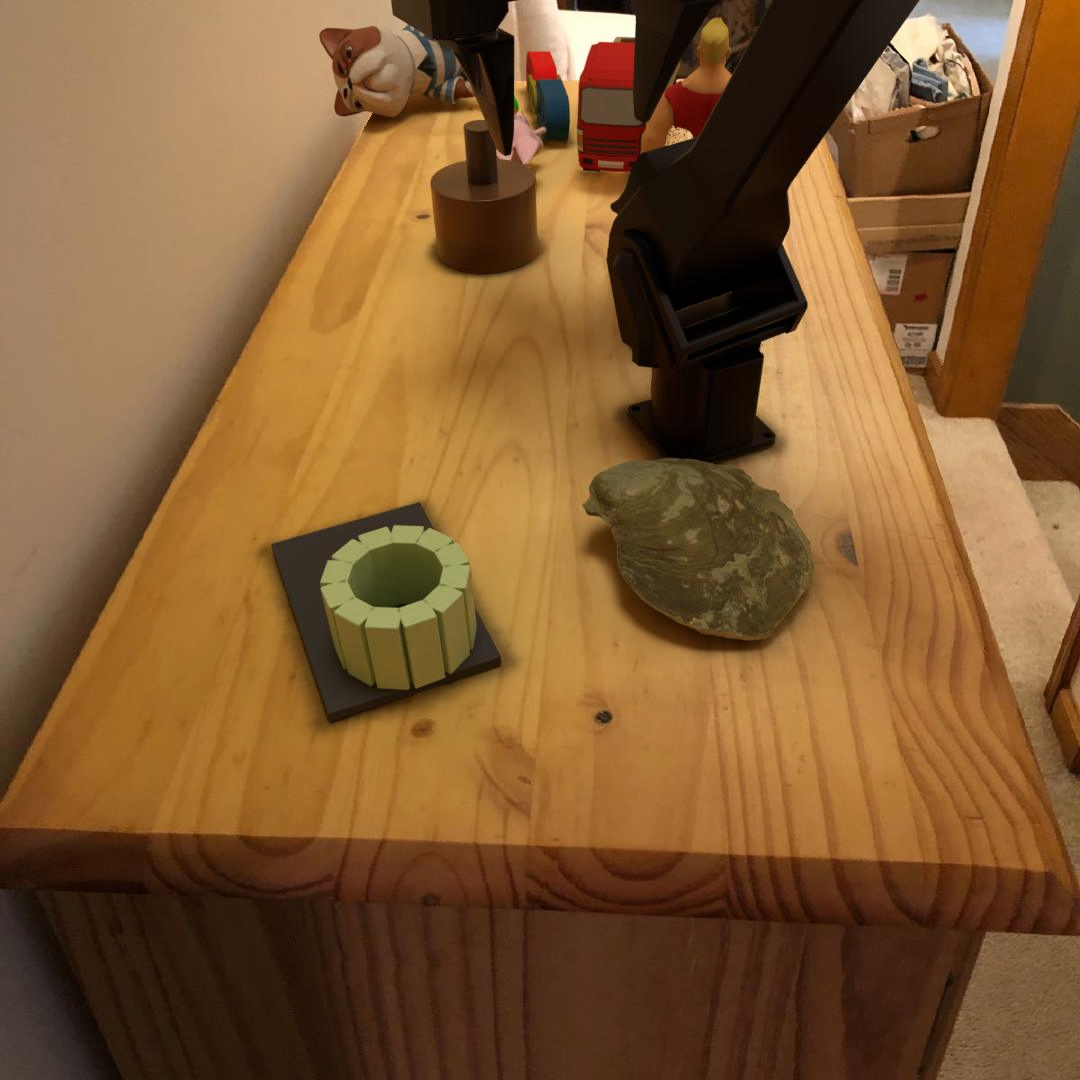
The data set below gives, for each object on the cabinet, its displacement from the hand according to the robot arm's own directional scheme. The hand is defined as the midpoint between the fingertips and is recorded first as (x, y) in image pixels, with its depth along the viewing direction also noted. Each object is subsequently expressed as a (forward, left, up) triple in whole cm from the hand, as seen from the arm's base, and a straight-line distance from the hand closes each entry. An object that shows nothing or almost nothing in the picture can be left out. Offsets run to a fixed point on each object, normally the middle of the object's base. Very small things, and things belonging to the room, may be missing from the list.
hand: (574, 136), depth 59 cm
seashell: (-23, +4, -13) cm, 27 cm away
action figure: (+10, -15, -13) cm, 22 cm away
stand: (+14, +1, -13) cm, 19 cm away
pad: (-19, +19, -13) cm, 30 cm away
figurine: (+42, -11, -8) cm, 45 cm away
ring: (-22, +18, -12) cm, 31 cm away
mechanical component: (+38, -12, -11) cm, 42 cm away
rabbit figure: (+28, -7, -13) cm, 32 cm away
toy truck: (+27, -18, -13) cm, 35 cm away
